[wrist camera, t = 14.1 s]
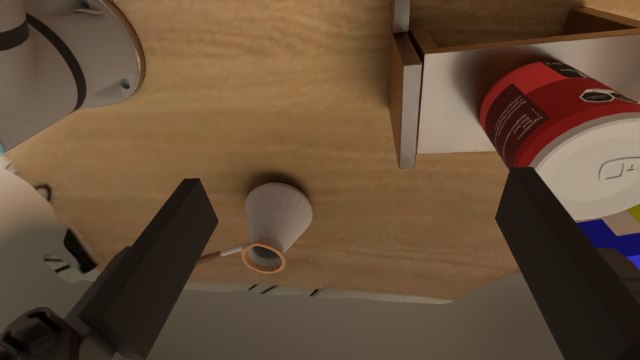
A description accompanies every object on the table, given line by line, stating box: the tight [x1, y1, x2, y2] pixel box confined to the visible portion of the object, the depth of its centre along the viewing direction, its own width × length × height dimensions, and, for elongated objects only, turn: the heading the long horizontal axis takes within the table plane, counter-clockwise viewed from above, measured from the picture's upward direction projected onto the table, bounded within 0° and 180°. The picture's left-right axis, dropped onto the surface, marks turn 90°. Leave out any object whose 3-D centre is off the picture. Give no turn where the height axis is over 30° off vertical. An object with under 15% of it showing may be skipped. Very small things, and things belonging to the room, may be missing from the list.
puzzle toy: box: [575, 203, 640, 270], centre depth 44 cm, size 10×10×10 cm
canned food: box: [480, 61, 640, 220], centre depth 23 cm, size 8×8×11 cm
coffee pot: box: [195, 182, 313, 273], centre depth 48 cm, size 21×12×15 cm, turn 100°
